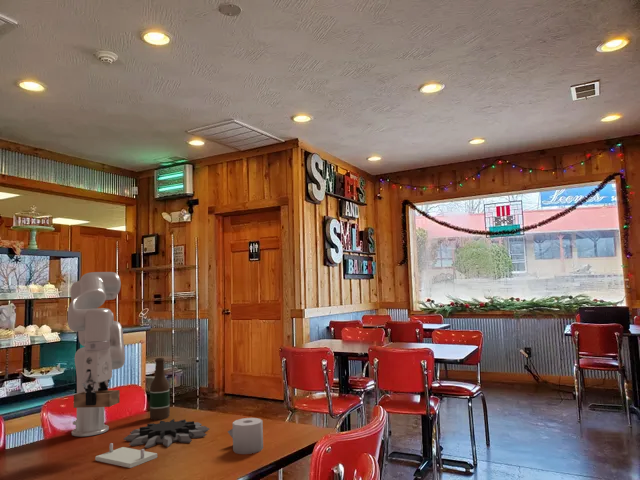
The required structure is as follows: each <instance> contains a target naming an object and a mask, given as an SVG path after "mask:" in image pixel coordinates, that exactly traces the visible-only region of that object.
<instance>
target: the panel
mask: <svg viewBox="0 0 640 480" xmlns="http://www.w3.org/2000/svg"><path fill="white" fill-rule="evenodd" d="M157 458H158V453H157V452H151V451H146V450H145V448H141V449H136V448H131V447H125V446H122V447H119V448H116V449H114V443H112V442H111V443H109V451H107V452H105V453H102V454H99V455H96V456H95V461H97V462H101V463H105V464H110V465H115V466H121V467H123V468H129V469H131V468H135V467H136V466H137V467H138V466H139V465H143V464H144V463H146V462H149V461H152V460H156V459H157Z"/></svg>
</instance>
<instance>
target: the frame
mask: <svg viewBox="0 0 640 480" xmlns="http://www.w3.org/2000/svg"><path fill="white" fill-rule="evenodd" d="M95 392H96V405H86V393H85V391H84V392H81V393H78V394H77V393H76V394H73V409H77V408H85V407H105V408H110V407H112V406H114V405H117V404H120V401H121V400H120V397H121V396H120V393H121V392H120V389H114V390H113V389H110V390H109V389H108V390H106V391H95Z"/></svg>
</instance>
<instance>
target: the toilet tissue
mask: <svg viewBox="0 0 640 480" xmlns="http://www.w3.org/2000/svg"><path fill="white" fill-rule="evenodd" d="M263 424H264V423H263V419H261V418H260V417H259V418H257V417H244V418H239V419H235V420H234V421H233V422H232V429H230V430H228V431H227V433H228V434H229V436H230V437H231V438H232V451H233V452H234V453H235V454H239V455H250V454H251V455H252V453H253V454H256V453H259V452H261V451H262V450H263V449H264V432H263V430H264V427H263Z"/></svg>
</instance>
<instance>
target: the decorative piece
mask: <svg viewBox="0 0 640 480" xmlns="http://www.w3.org/2000/svg"><path fill="white" fill-rule="evenodd" d="M146 425H147V426H140V427H139V428H137V429H133V430H132V431H130V432H129V434H128V435H126V436H125V437H123V440H124V441H126V442H129V443H128V445H129V446H131V447H136V446H140V445H144V444H145V446H144V448H146V449H149V448H153V447H154V446H155V447H156V445H158V444H163V446H165V447H166V448H169V447H170V446H171V445H172V444H173V443H176V442H180V443H183V444H184V443H187V444H189V443H191V442H192V441H193V440H192V439H199V438H204V437H205V436H207V435H208V434H207V433H206V432H208V431H209V430H210V429H211V428H210V427H208V426H205V425H203V424H202V423H200V422H198V421H197V422H195V421H193V420H192V421H187V419H186V418H185V419H181V420H178V421H175V419H174V418H173V419H170V421H164V420H159V422H158V423H155V422H154V423H147V424H146Z"/></svg>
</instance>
